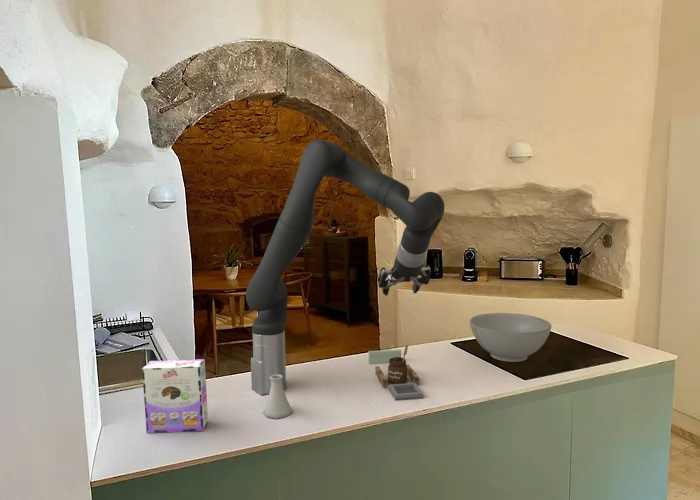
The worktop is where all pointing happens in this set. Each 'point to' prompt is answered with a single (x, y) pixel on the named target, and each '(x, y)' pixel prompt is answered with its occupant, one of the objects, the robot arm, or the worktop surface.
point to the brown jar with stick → (397, 369)
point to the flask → (277, 400)
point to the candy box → (175, 396)
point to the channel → (383, 379)
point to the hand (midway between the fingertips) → (399, 292)
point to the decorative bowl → (510, 334)
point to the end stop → (382, 356)
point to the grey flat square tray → (405, 391)
